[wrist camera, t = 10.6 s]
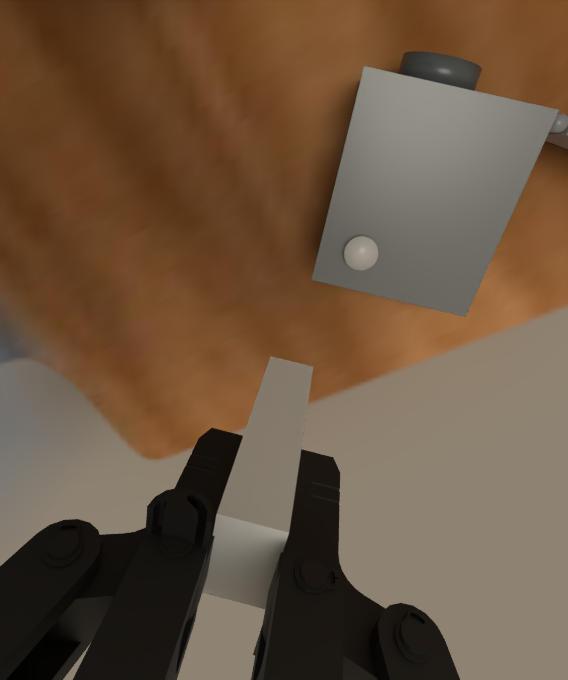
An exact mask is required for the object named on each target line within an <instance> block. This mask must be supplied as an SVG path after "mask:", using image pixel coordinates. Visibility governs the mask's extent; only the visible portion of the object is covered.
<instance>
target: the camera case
mask: <svg viewBox="0 0 568 680" xmlns="http://www.w3.org/2000/svg"><path fill="white" fill-rule="evenodd" d="M481 70H482V68H481V67H480V66H478V65H477V64H474V63H472V62H469V61H467V60H463V59H460V58H456V57H452V56H447V55H442V54H436V53H429V52H406V53H404V55H403V59H402V62H401V66H400V70H399V73H398V74H397V73H392V72H388V71H384V70H379V69H375V68H370V67H366V66H364V69H363V72H362V76H361V80H360V84H359V88H358V93H357V97H356V101H355V105H354V109H353V113H352V117H351V121H350V125H349V129H348V133H347V137H346V141H345V145H344V149H343V153H342V158H341V162H340V166H339V170H338V174H337V178H336V182H335V186H334V190H333V194H332V198H331V202H330V206H329V210H328V214H327V218H326V223H325V227H324V231H323V235H322V239H321V243H320V247H319V251H318V255H317V259H316V263H315V267H314V271H313V276H312V280H314V281H318V282H322V283H327V284H331V285H335V286H339V287H343V288H347V289H352V290H356V291H360V292H364V293H368V294H372V295H376V296H381V297H385V298H389V299H393V300H397V301H401V302H405V303H410V304H414V305H418V306H422V307H426V308H430V309H434V310H439V311H443V312H447V313H451V314H455V315H459V316H464V317H466V314H467V312H468V310H469V308H470V306H471V303H472V301H473V299H474V297H475V295H476V292H477V290H478V288H479V286H480V284H481V281H482V279H483V277H484V275H485V272H486V270H487V268H488V266H489V264H490V261H491V259H492V257H493V255H494V253H495V250H496V248H497V246H498V244H499V242H500V239H501V237H502V235H503V233H504V231H505V228H506V226H507V224H508V222H509V220H510V217H511V215H512V213H513V211H514V208H515V206H516V204H517V202H518V200H519V197H520V195H521V193H522V191H523V189H524V186H525V184H526V182H527V180H528V178H529V175H530V173H531V171H532V169H533V167H534V164H535V162H536V160H537V158H538V156H539V153H540V151H541V149H542V147H543V144H544V142H545V140H546V138H547V136H548V133H549V132H562V131H564V130H565V129H566V128H567V126H568V116H567V115H565V114H558V111H559V110H557V109H552V108H548V107H544V106H539V105H535V104H530V103H526V102H521V101H517V100H512V99H508V98H504V97H499V96H495V95H490V94H486V93H481V92H477V91H474V90H475V87H476V84H477V81H478V79H479V76H480V73H481ZM557 114H558V115H557Z"/></svg>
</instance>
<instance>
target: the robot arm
mask: <svg viewBox="0 0 568 680" xmlns="http://www.w3.org/2000/svg"><path fill="white" fill-rule="evenodd" d="M312 373H313V367H312V366H308V365H304V364H300V363H296V362H292V361H288V360H284V359H280V358H276V357H272V356H270V359H269V362H268V365H267V368H266V371H265V374H264V377H263V380H262V383H261V386H260V389H259V392H258V394H257V397H256V400H255V403H254V406H253V409H252V412H251V415H250V418H249V421H248V424H247V427H246V430H245V432H244V435H243V436H241V435H238V434H234V433H230V432H226V431H222V430H218V429H214V428H211V429H210V430H209V431H207V432H206V433H205V434H204V435H202V436H201V437H200V438H199V439H198V441H197V443H196V445H195V447H194V449H193V452H192V455H191V456H190V458H189V460H188V462H187V465H186V466H185V468H184V470H183V472H182V474H181V476H180V478H179V480H178V483H177V485H176V487H175V489H171V490H166V491H164V492H163V493H161V494H160V495H158V496H156V497H155V498H154V499H153V500H152V501H151V503H150V504H149V505H148V506H147V520H146V528H144V529H141V530H138V531H136V532H131V533H124V534H106V535H99V532H98V530H97V529H96V528H95V527H94V526H93V525H92V524H91V523H89V522H85V521H82V520H79V519H74V520H63V521H60V522H57V523H54V524H51V525H49V526H47V527H46V528H45V529H43V530H42V531H40V532H39V533H37V534H36V535H35V536H34V537H33V538H32V539H30V540H29V541H28V542H27V543H26V544H25V545H24V546H23V547H21V548H20V549H19V550H18V551H17V552H16V553H15V554H14V555H13V556H12V557H10V558H9V559H8V560H7V561H6V562H5V563H4V564H3V565H1V566H0V680H63V679H64V677H65V676H66V674H68V672H69V671H70V670H71V668H72V667H73V666H74V664H75V663H76V662H77V660H78V659H79V658H80V656H81V655H82V654H83V652H84V651H85V650H86V648H87V647H88V646H89V644H90V643H91V645H90V646H89V648H88V650H87V652H86V655H85V656H84V658H83V661H82V662H81V664H80V666H79V668H78V670H77V672H76V674H75V677H74V678H73V680H177V677H178V674H179V670H180V667H181V664H182V661H183V658H184V654H185V651H186V648H187V644H188V642H189V638H190V635H191V632H192V629H193V625H194V622H195V618H196V612H197V607H198V604H199V601H200V597H201V594H202V593H207V594H210V595H214V596H218V597H221V598H225V599H229V600H233V601H236V602H240V603H244V604H248V605H252V606H255V607H259V608H263V609H265V607H266V609H265V615H264V620H263V625H262V628H261V631H260V635H259V638H258V641H257V644H256V647H255V650H254V653H253V655H255V661H254V666H253V672H252V678H251V680H460V678H459V676H458V673H457V670H456V668H455V665H454V663H453V660H452V657H451V655H450V652H449V650H448V647H447V645H446V642H445V639H444V638H443V636H442V634H441V632H440V630H439V629H438V627H437V626H436V624H435V623H434V622H433V621H432V620H431V619H430V618H429V617H428V616H427V614H425V613H424V612H422V611H421V610H419V609H417V608H416V607H414V606H412V605H407V604H403V603H398V604H394V605H390V606H388V608H386V609H385V608H384V607H382V606H380V605H379V604H377V603H376V602H374V601H372V600H371V599H369V598H367V597H366V596H364V595H363V594H362V593H360V592H359V591H358V590H356V589H355V588H354V587H353V586H352V584H350V582H349V581H348V580H347V578H346V576H345V575H344V573H343V572H342V569H341V566H340V563H339V556H338V543H339V498H340V497H339V496H340V492H339V489H340V472H339V469H338V467H337V465H336V463H335V461H334V458H333V457H329V456H325V455H321V454H317V453H313V452H310V451H306V450H302V449H301V447H302V441H303V434H304V427H305V420H306V414H307V407H308V400H309V393H310V386H311V379H312Z"/></svg>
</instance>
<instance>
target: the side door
mask: <svg viewBox="0 0 568 680" xmlns="http://www.w3.org/2000/svg"><path fill="white" fill-rule="evenodd" d="M545 141H547V142H549V143H552V144H555V145H558V146H560V147H563V148H566V149H568V126H567V128H566V129H565V130H564V131H562V132H549V133H548V136H547V138H546V140H545Z"/></svg>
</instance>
